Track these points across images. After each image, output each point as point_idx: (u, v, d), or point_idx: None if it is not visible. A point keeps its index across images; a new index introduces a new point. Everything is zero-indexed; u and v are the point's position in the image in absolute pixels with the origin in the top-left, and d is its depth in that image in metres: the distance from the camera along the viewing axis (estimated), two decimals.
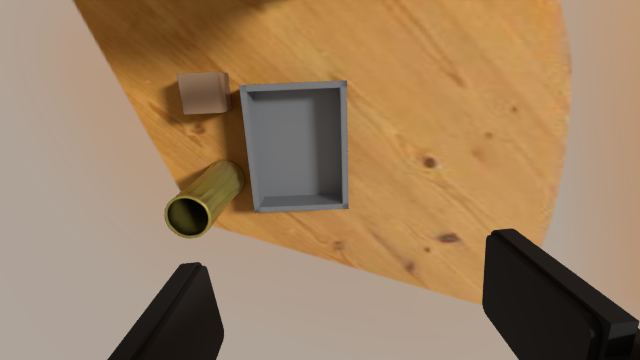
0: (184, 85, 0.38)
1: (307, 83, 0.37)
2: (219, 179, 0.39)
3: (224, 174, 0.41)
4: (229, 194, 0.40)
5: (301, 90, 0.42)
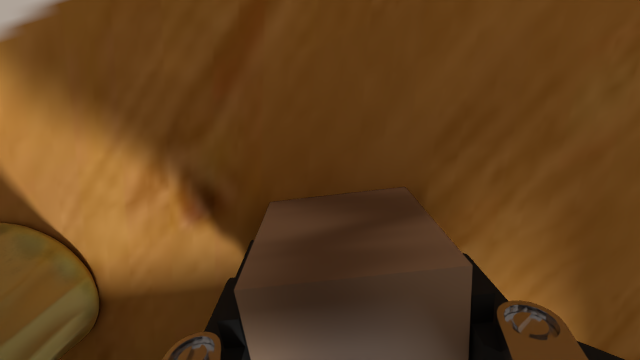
0: (404, 301, 0.06)
1: None
2: None
3: None
4: None
5: None
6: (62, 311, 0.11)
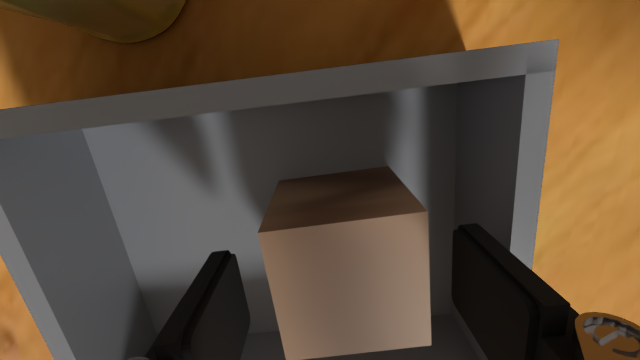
0: (380, 239, 0.09)
1: None
2: None
3: None
4: None
5: (449, 226, 0.14)
6: None
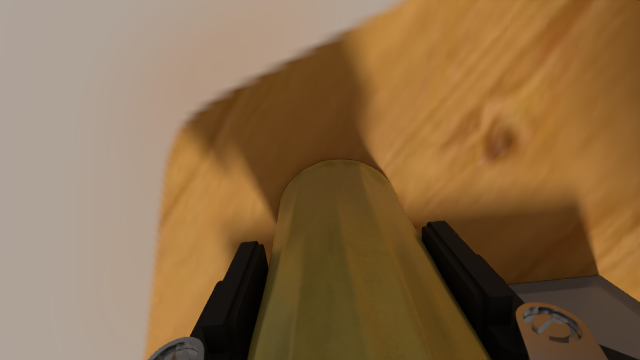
0: None
1: None
2: None
3: None
4: None
5: None
6: None
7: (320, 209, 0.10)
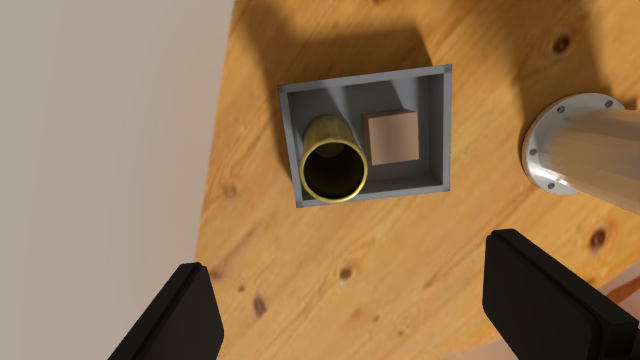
0: (403, 121, 0.30)
1: (449, 148, 0.32)
2: None
3: None
4: None
5: (427, 133, 0.36)
6: None
7: (320, 123, 0.31)
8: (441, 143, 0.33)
